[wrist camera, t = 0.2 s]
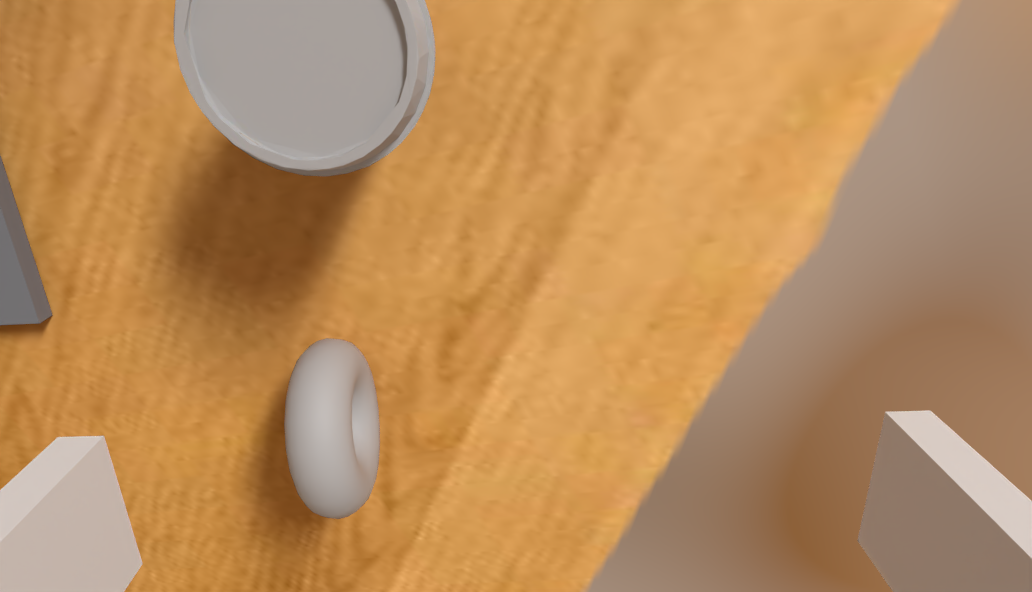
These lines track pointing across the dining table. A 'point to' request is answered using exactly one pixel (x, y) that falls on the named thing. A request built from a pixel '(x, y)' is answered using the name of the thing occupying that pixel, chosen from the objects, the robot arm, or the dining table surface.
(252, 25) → the disposable coffee cup
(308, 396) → the donut
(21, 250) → the slate board
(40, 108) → the dining table surface
